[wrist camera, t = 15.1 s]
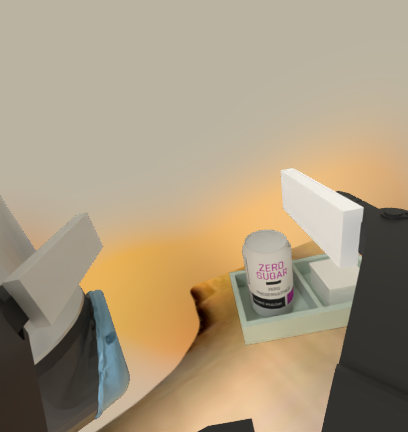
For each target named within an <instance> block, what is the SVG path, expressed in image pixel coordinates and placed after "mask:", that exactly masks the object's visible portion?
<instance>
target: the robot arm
mask: <svg viewBox="0 0 408 432" xmlns="http://www.w3.org/2000/svg"><path fill="white" fill-rule="evenodd" d="M281 181H282V198H283V209H284V210H285V211H286V212H287V213H288V214H289V215H290V216H291V217H292V218H293V219H294V221H296V222H297V224H298V225H299V226H300V227H301V228H302V229H303V230H304V231H305V232H306V233H307V234H308V235H309V236H310V237H311V238H312V239H313V241H314V242H315V243H316V244H317V245H318V246H319V247H320V248H321V249H322V250H323V251H324V252H325V253H326V254H327V255H328V256H329V257H330V258H331V259H332V260H333V262H334V263H335V264H336V265H337V266H338V267H339V268H344V267H349V266H354V265H358V257H359V253H360V254H361V255H362V260H361V265H360V269H359V274H358V279H357V283H356V288H355V292H354V297H353V302H352V306H351V311H350V316H349V320H348V325H347V330H346V334H345V339H344V343H343V348H342V353H341V357H340V361H339V364H337V366H336V369H335V373H334V378H333V382H332V386H331V391H330V395H329V400H328V404H327V409H326V413H325V418H324V422H323V427H322V431H321V432H408V211H407V210H403V209H398V208H381V209H378V208H376V207H374V206H372V205H370V204H368V203H367V202H365V201H362V200H361V199H359V198H356V197H355V196H353V195H351V194H349V193H345V192H340V191H336V192H335V191H333V190H331V189H330V188H328V187H326V186H324V185H322V184H320V183H318V182H317V181H315V180H313V179H311V178H310V177H308V176H306V175H304V174H302V173H301V172H299V171H297V170H295V169H293V168H291V169H285V170H281ZM102 247H103V245H102V243H101V241H100V239H99V237H98V235H97V233H96V230H95V229H94V226H93V224H92V222H91V220H90V218H89V216H88V214H87V213H84V214H79V215H76V216H75V217H73V219H71V220H70V221H69V222H68V223H67V224H66V225H65V226H64V227H62V228H61V229H60V230H59V231H58V232H57V233H56V234H55V235H54V236H53V237H51V238H50V239H49V240H48V241H47V242H46V243H45V244H44V245H43V246H41V247H40V248H39V249H38V250H37V251H36V250H35V248H34V247H33V245H32V244H31V242H30V241H29V239H28V237H27V236H26V234H25V233H24V231H23V230H22V228H21V227H20V225H19V224H18V222H17V220H16V219H15V217H14V216H13V214H12V213H11V211H10V210H9V208H8V207H7V205H6V203H5V202H4V200H3V199H2V197H1V196H0V432H77V431H79V430H80V429H82V428H83V427H84V426H86V425H87V424H88V423H90V422H91V421H93V420H94V419H97V418H98V417H100V416H101V414H102V412H103V411H104V410H105V409H106V408H108V407H109V406H110V405H111V404H113V403H114V402H115V401H116V400H117V399H119V398H120V397H121V396H122V395H123V394H124V393H125V391H126V390H127V388H128V385H129V380H130V376H129V371H128V368H127V365H126V362H125V359H124V356H123V353H122V350H121V346H120V344H119V340H118V337H117V334H116V331H115V328H114V325H113V322H112V318H111V316H110V312H109V309H108V306H107V303H106V300H105V297H104V294H103V292H102V291H101V290H95V291H89V292H88V293H87V294H86V295H85V293H84V292H83V290H82V288H81V287H80V286H79V283H80V281H81V280H82V279H83V277H84V276H85V274H86V272H87V271H88V269H89V268H90V266H91V265H92V263H93V262H94V260H95V259H96V257H97V255H98V254H99V252H100V251H101V249H102ZM198 432H255V431H254V427H253V423H252V418H251V419H246V420H240V421H234V422H229V423H223V424H217V425H211V426H207V427H205V428H204V429H202V430H200V431H198Z"/></svg>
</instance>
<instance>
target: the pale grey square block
mask: <svg viewBox="0 0 408 432" xmlns="http://www.w3.org/2000/svg"><path fill="white" fill-rule="evenodd" d="M309 267H310V268H311V282H312V284H313V285H314V287H315V288H316V289H317V291H318V292H319V294H320V295H321V297H322V298H323V299H324V301H325V302H326V304H327V305H328V306H330V305H336V304H341V303H346V302H351V301H353V297H354V292H355V288H356V283H357V279H358V274H359V269H360V268H359V267H358V266H357V265H354V266H349V267H344V268H339V267H338V266H337V265H336V264H335V263H334V262H333V260H332V259H327V260H322V261H317V262H312V263H309Z"/></svg>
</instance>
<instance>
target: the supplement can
mask: <svg viewBox="0 0 408 432" xmlns="http://www.w3.org/2000/svg"><path fill="white" fill-rule="evenodd" d="M242 253H243V259H244V265H245V271H246V277H247V284H248V290H249V296H250V302H251V305H252V308H253V309H254V310H255V311H256V312H257V313H258V314H259V315H261V316H263V317H266V318H268V317H273V316H278V315H284V314H289V313H290V312H291V311H292V309H293V306H294V292H293V271H292V251H291V245H290V243H289V242H288V240H287V239H286V237H285V236H284V234H282V233H281V232H278V231H275V230H260V231H256V232H253V233H252V234H250V235H248V236H247V238H246V239H245V243H244V245H243V250H242Z"/></svg>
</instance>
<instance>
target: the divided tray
mask: <svg viewBox="0 0 408 432" xmlns="http://www.w3.org/2000/svg"><path fill="white" fill-rule="evenodd" d="M327 259H331V258H330V257H329V256H328V255H327V254H321V255H316V256H311V257H306V258H301V259H296V260H292V271H293V292H294V306H293V309H292V311H291V312H290V313H289V314H284V315H278V316H273V317H268V318H266V317H263V316H261V315H259V314H258V313H257V312H256V311H255V310H254V309H253V308H252V305H251V302H250V296H249V290H248V284H247V277H246V271H245V270H241V271H236V272H231V273H229V274H230V279H231V284H232V289H233V293H234V298H235V302H236V306H237V310H238V315H239V319H240V323H241V327H242V332H243V336H244V340H245V344H246V345H250V344H255V343H261V342H266V341H271V340H277V339H282V338H287V337H293V336H298V335H303V334H309V333H314V332H319V331H324V330H330V329H335V328H340V327H346V326H347V325H348V320H349V316H350V311H351V306H352V302H353V301H351V302H346V303H341V304H336V305H330V306H328V305H327V304H326V302H325V301H324V299H323V298H322V297H321V295H320V294H319V292H318V291H317V289H316V288H315V287H314V285H313V284H312V282H311V268H310V267H309V263H312V262H317V261H322V260H327ZM361 260H362V257H361V256H360V255H359V257H358V265H357V266H358V267H359V268H360V265H361Z"/></svg>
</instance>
